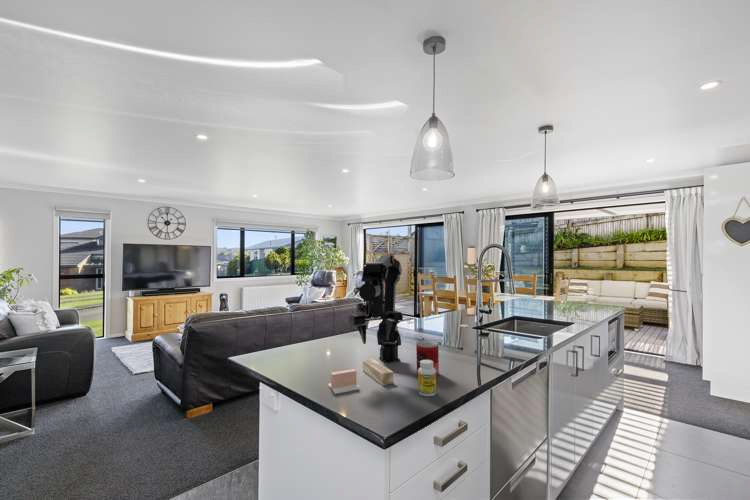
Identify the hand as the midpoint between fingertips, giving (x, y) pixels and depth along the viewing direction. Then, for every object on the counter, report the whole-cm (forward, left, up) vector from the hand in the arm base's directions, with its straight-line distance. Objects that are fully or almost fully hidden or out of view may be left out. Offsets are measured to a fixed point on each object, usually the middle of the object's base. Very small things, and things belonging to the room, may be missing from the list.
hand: (376, 342), depth 118 cm
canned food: (-17, +6, -12) cm, 22 cm away
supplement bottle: (-7, +20, -12) cm, 25 cm away
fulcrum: (+14, +4, -12) cm, 19 cm away
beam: (0, 0, -12) cm, 12 cm away
